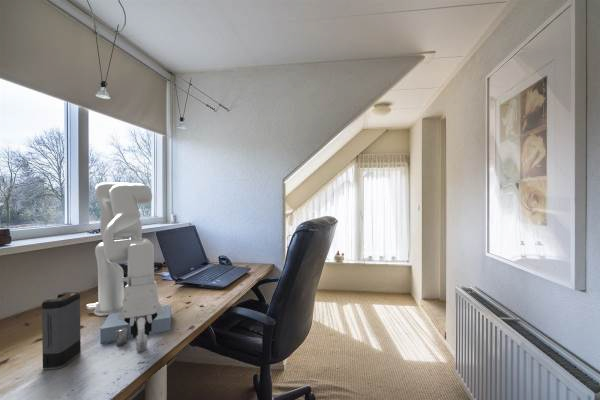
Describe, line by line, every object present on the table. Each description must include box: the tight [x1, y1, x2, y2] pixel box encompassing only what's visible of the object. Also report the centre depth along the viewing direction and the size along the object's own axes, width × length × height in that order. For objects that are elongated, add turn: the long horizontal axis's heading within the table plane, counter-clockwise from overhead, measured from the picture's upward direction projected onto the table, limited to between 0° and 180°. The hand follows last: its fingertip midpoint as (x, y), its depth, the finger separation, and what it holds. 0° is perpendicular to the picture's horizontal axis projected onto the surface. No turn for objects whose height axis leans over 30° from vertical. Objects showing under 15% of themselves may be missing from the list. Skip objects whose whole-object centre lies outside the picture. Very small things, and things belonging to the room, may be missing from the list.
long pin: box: [135, 315, 148, 352], centre depth 91 cm, size 3×3×13 cm
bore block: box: [99, 304, 172, 344], centre depth 107 cm, size 22×14×5 cm, turn 114°
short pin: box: [115, 328, 128, 348], centre depth 95 cm, size 3×3×5 cm
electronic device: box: [41, 291, 82, 370], centre depth 86 cm, size 9×6×20 cm, turn 5°
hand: (141, 334), depth 91 cm, fingers closed on long pin, 3 cm apart
